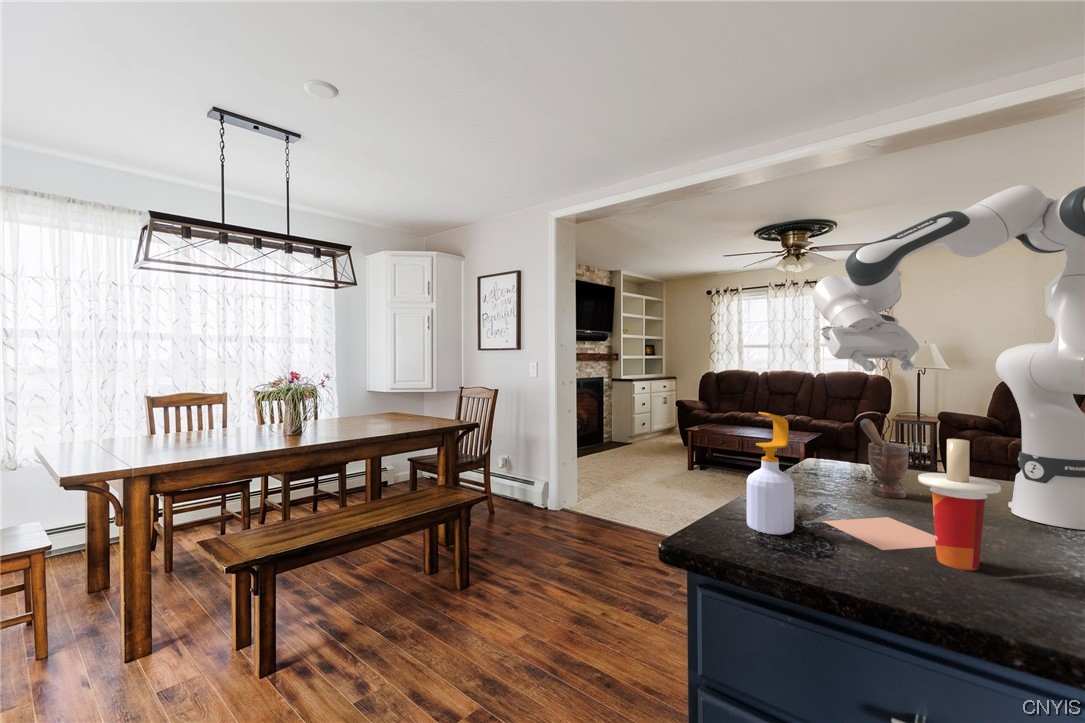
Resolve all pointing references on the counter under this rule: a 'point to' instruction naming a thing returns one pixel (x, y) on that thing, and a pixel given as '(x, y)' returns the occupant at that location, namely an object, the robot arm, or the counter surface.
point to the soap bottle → (771, 487)
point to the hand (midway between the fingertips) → (890, 369)
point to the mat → (885, 533)
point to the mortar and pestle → (886, 463)
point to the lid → (959, 473)
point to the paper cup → (958, 527)
